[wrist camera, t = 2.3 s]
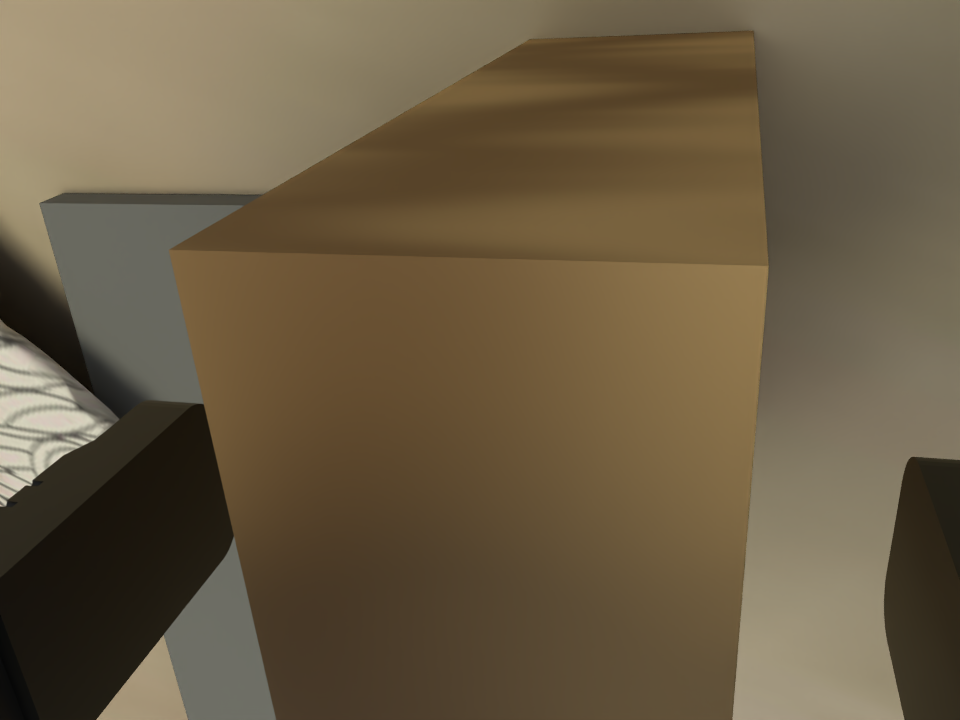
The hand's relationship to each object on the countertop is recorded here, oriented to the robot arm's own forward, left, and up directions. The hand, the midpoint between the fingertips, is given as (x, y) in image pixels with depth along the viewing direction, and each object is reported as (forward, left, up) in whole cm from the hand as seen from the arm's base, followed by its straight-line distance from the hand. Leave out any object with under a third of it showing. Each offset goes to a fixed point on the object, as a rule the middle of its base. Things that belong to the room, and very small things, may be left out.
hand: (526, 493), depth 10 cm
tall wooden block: (0, 0, -9) cm, 9 cm away
